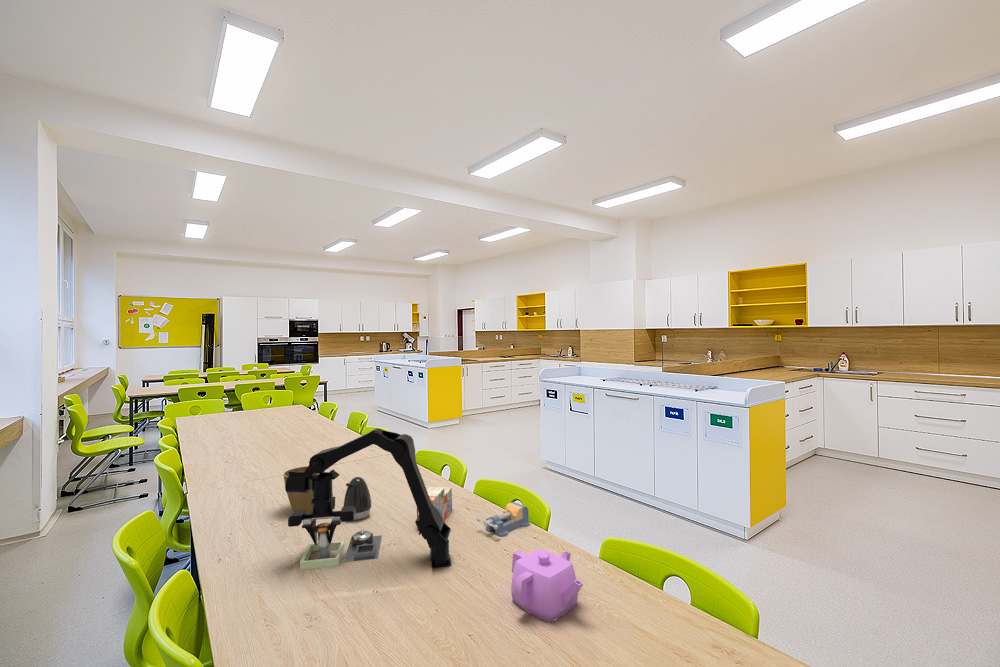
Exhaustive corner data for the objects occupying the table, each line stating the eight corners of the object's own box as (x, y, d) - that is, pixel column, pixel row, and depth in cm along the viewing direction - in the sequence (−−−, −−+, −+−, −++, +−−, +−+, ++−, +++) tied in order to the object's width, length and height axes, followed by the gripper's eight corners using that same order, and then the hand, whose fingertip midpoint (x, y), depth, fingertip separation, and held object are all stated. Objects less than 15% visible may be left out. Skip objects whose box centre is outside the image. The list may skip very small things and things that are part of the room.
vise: (512, 516, 168) (512, 499, 168) (532, 525, 160) (532, 506, 160) (475, 531, 155) (475, 512, 155) (495, 541, 148) (495, 521, 148)
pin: (331, 561, 135) (329, 527, 134) (315, 563, 134) (313, 529, 134) (333, 554, 139) (331, 521, 139) (319, 556, 138) (316, 523, 138)
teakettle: (510, 584, 122) (509, 539, 122) (572, 583, 122) (571, 538, 122) (512, 625, 105) (512, 573, 105) (584, 623, 105) (583, 571, 105)
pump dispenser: (337, 520, 167) (336, 479, 167) (357, 510, 176) (357, 471, 176) (357, 525, 162) (356, 483, 162) (377, 514, 171) (376, 475, 171)
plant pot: (290, 523, 164) (289, 480, 164) (279, 511, 176) (279, 470, 176) (330, 512, 174) (330, 471, 174) (318, 501, 185) (318, 463, 185)
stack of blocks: (437, 509, 175) (436, 478, 175) (452, 510, 174) (452, 479, 174) (416, 534, 154) (416, 498, 154) (434, 535, 153) (433, 499, 153)
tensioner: (377, 561, 135) (377, 547, 135) (343, 565, 133) (343, 550, 133) (381, 538, 151) (381, 525, 151) (351, 541, 149) (351, 528, 149)
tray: (338, 569, 131) (338, 558, 131) (300, 573, 130) (299, 562, 130) (344, 550, 143) (344, 540, 143) (309, 553, 141) (309, 544, 141)
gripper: (357, 481, 146) (358, 529, 146) (296, 486, 142) (297, 535, 142) (352, 493, 135) (353, 545, 135) (286, 499, 131) (287, 551, 131)
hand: (323, 543), depth 136 cm, fingers open, 4 cm apart
